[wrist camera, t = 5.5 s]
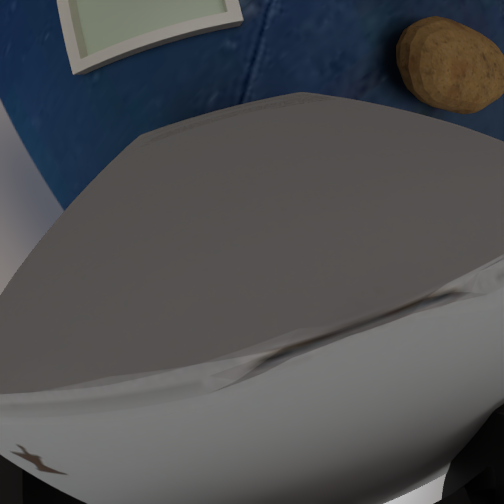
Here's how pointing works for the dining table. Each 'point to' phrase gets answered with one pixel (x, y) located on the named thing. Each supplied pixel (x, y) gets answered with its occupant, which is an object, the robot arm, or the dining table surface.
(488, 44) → the potato
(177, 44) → the dining table surface
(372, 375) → the supplement box
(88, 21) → the shallow square tray
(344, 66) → the dining table surface
